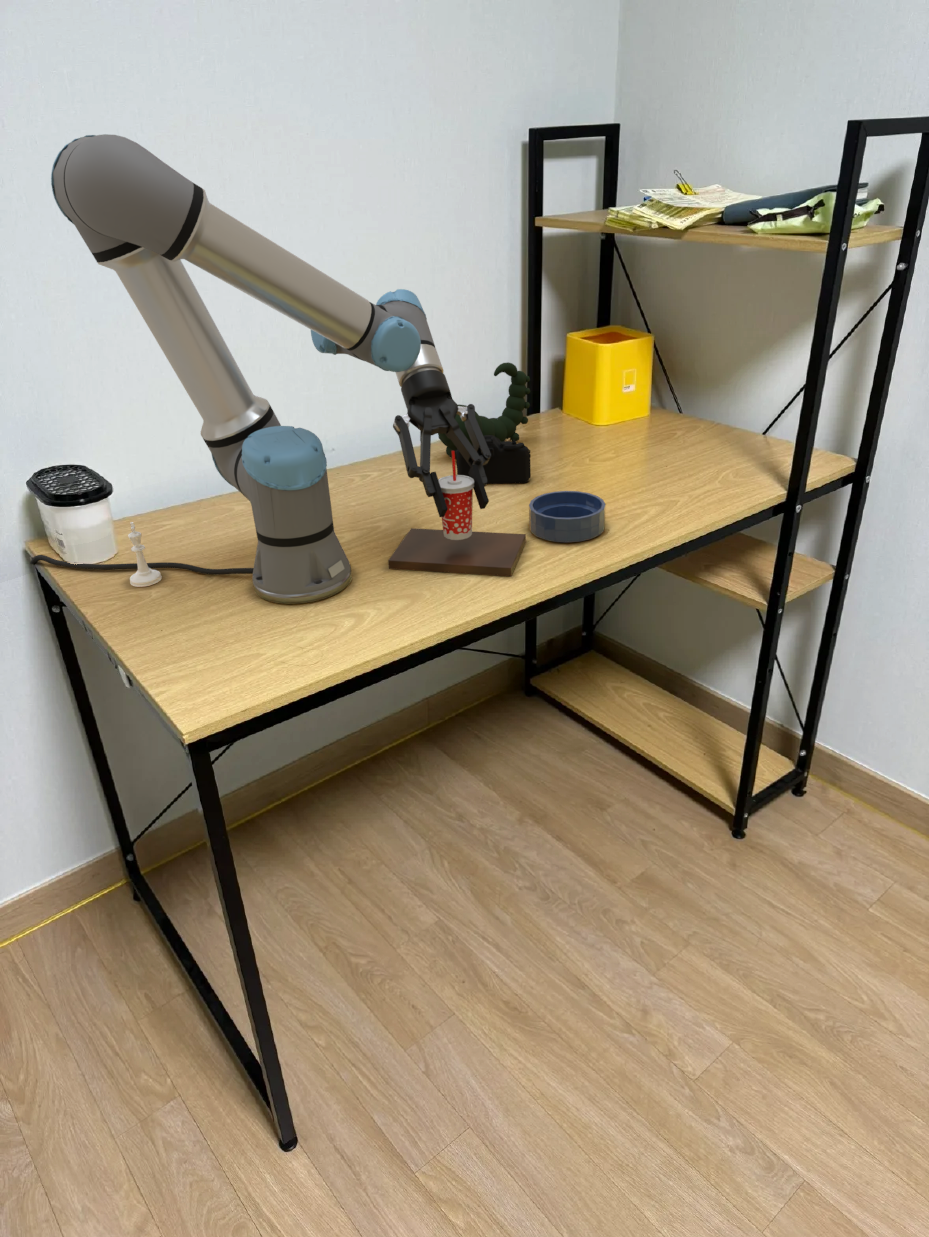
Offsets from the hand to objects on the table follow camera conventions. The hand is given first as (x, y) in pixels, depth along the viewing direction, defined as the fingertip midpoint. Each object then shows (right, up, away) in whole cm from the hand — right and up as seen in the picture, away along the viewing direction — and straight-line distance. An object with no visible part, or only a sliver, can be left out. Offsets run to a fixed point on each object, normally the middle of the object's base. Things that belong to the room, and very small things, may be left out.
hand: (464, 509), depth 136 cm
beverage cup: (-1, -4, +6) cm, 7 cm away
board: (-1, -7, +7) cm, 10 cm away
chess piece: (-51, -11, +5) cm, 53 cm away
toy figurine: (+4, +19, +53) cm, 57 cm away
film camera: (+6, +11, +39) cm, 41 cm away
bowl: (+18, -2, +15) cm, 23 cm away
